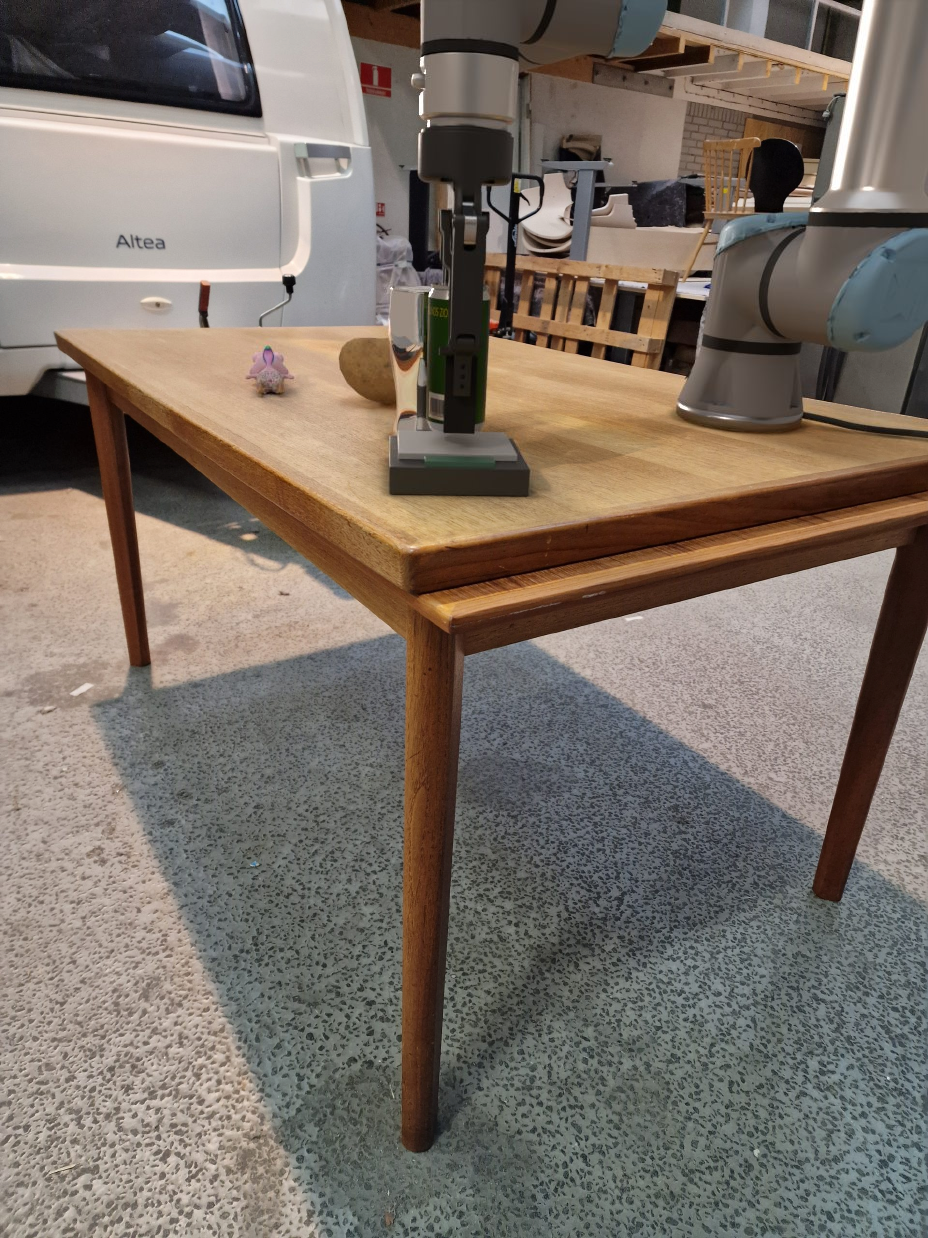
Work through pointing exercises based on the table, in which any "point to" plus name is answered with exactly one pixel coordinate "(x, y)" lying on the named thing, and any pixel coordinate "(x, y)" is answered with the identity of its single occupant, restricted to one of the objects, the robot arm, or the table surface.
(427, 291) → the beer glass
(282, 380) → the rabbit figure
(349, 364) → the potato
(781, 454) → the table surface
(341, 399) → the table surface
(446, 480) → the scale
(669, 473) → the table surface
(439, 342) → the beer can
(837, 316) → the robot arm
